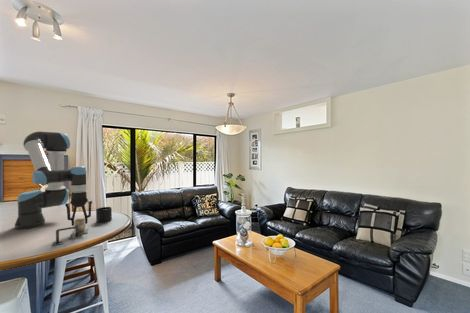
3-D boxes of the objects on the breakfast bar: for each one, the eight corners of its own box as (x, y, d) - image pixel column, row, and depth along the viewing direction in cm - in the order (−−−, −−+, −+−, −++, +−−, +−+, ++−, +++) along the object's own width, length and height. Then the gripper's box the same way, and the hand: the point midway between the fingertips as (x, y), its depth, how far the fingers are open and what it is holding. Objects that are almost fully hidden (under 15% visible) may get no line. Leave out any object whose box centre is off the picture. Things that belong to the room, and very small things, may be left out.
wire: (55, 239, 118) (54, 225, 118) (81, 235, 125) (81, 221, 125) (52, 246, 110) (51, 231, 110) (80, 240, 117) (80, 226, 117)
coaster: (72, 232, 130) (72, 231, 130) (87, 229, 134) (87, 228, 134) (70, 236, 123) (70, 235, 123) (87, 233, 127) (87, 232, 127)
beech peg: (75, 233, 125) (74, 220, 125) (75, 231, 129) (75, 218, 129) (84, 232, 128) (84, 219, 128) (84, 230, 132) (84, 217, 132)
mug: (93, 224, 143) (93, 211, 143) (98, 219, 155) (97, 207, 155) (109, 223, 147) (109, 210, 147) (112, 218, 158) (112, 206, 158)
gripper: (60, 194, 120) (61, 234, 121) (95, 190, 130) (96, 228, 130) (61, 192, 127) (62, 231, 127) (95, 189, 136) (96, 225, 136)
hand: (79, 229), depth 128 cm, fingers closed on beech peg, 4 cm apart
